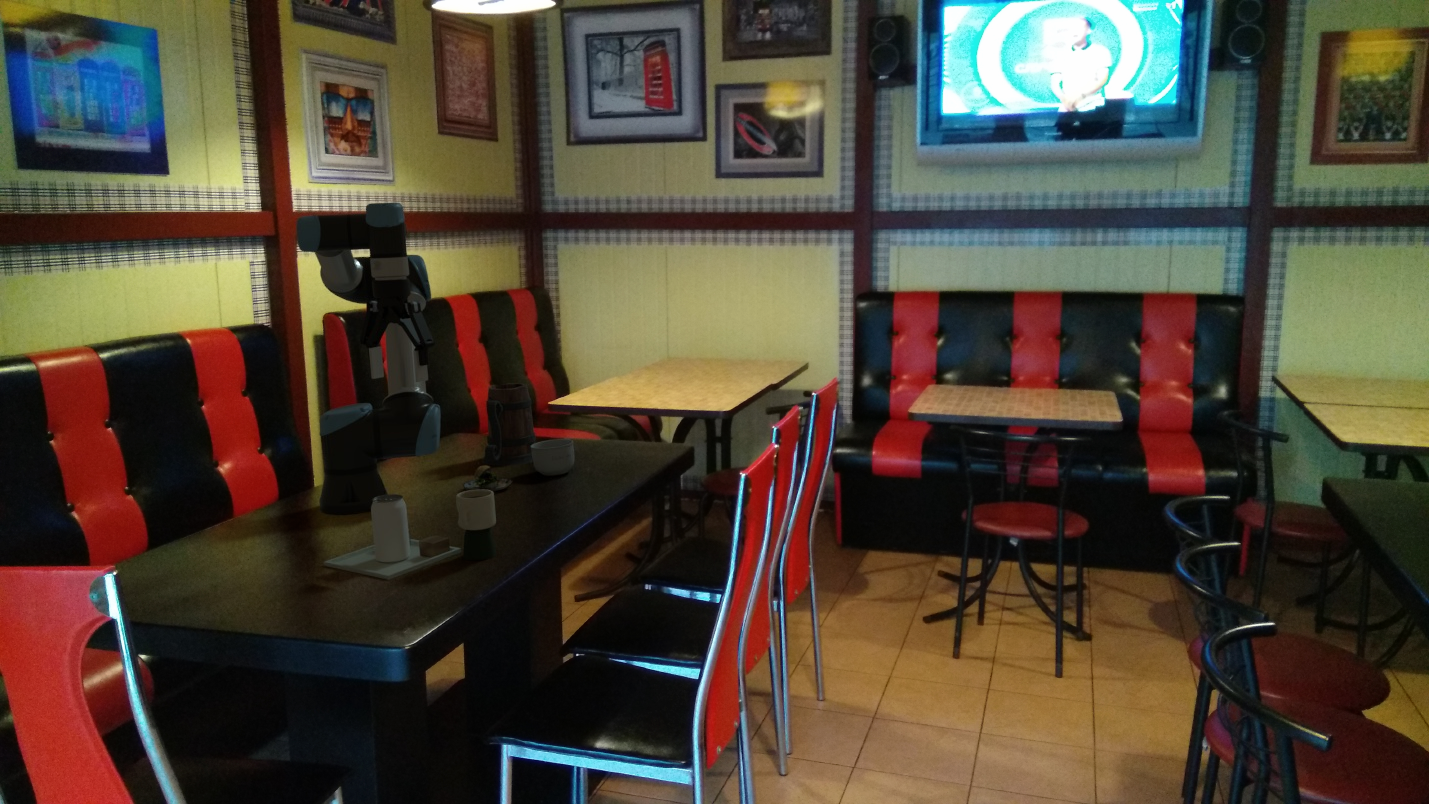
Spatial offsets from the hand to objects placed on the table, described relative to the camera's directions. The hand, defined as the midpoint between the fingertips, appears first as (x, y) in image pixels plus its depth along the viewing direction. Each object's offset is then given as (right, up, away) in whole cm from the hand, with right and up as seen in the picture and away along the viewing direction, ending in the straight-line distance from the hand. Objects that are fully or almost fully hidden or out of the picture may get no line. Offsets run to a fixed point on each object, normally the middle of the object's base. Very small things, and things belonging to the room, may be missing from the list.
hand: (399, 379), depth 233 cm
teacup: (+26, -23, +49) cm, 60 cm away
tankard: (+11, -21, +64) cm, 68 cm away
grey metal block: (+3, -34, -13) cm, 36 cm away
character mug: (+21, -35, -20) cm, 46 cm away
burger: (+12, -26, +34) cm, 45 cm away
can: (+5, -35, -20) cm, 41 cm away
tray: (+5, -36, -20) cm, 41 cm away
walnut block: (+12, -34, -19) cm, 41 cm away
